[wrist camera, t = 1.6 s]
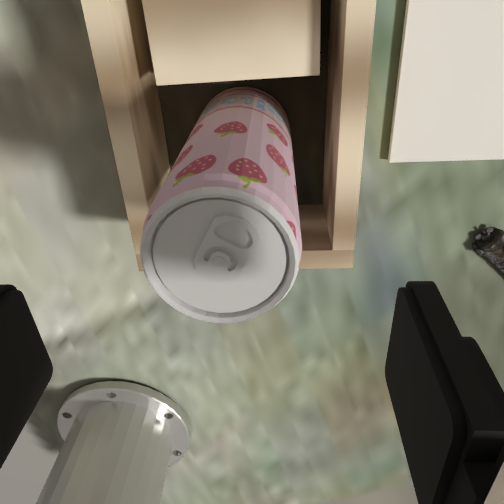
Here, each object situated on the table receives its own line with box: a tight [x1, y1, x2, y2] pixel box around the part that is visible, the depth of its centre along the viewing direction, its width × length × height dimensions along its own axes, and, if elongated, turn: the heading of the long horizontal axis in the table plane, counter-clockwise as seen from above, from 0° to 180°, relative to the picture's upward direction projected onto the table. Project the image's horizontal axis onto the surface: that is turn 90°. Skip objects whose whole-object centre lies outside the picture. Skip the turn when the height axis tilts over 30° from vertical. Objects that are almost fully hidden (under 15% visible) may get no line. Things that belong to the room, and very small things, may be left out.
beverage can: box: [140, 86, 302, 323], centre depth 21 cm, size 6×6×15 cm
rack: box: [81, 0, 376, 271], centre depth 23 cm, size 19×12×6 cm, turn 3°
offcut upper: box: [142, 0, 321, 86], centre depth 21 cm, size 6×8×2 cm
